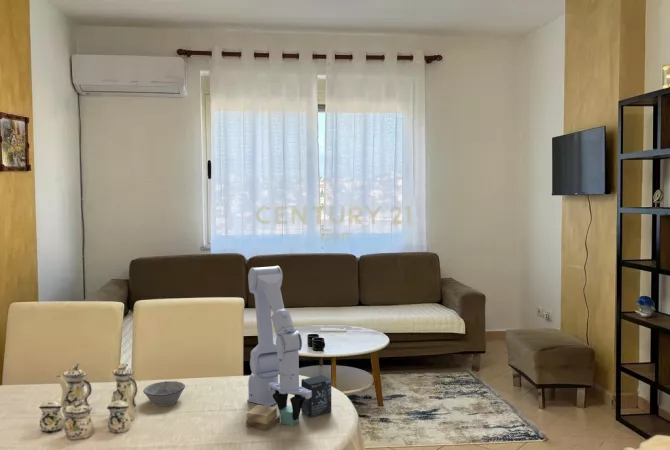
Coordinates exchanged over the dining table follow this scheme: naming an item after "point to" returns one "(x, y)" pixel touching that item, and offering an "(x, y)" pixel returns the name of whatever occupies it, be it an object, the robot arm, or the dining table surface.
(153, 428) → the dining table surface
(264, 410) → the slab top
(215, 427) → the dining table surface
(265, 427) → the slab bottom
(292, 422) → the teal cube
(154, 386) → the bowl
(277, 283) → the robot arm
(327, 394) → the box
